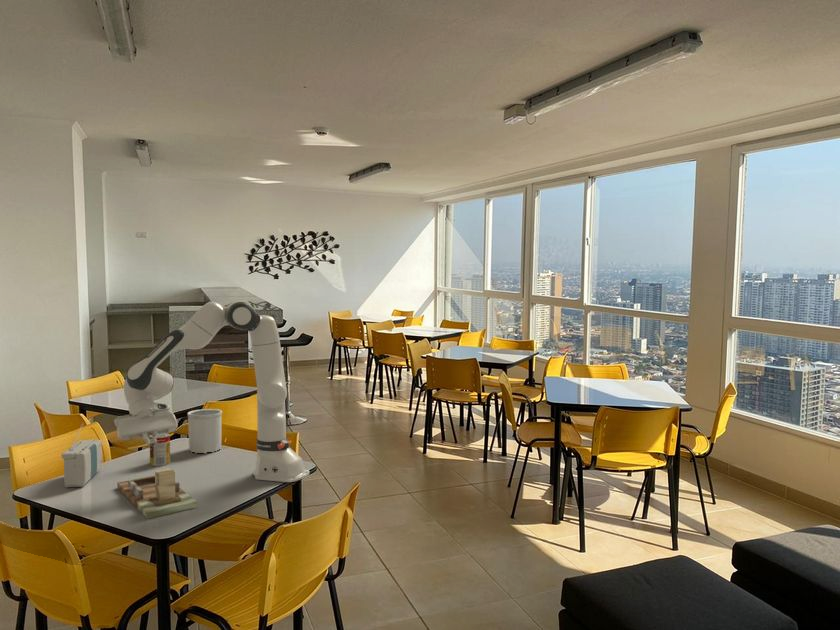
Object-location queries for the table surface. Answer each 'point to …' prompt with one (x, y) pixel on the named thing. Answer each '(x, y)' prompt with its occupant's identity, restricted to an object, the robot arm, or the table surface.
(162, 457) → the canned food
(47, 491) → the table surface
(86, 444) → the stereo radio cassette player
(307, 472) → the robot arm
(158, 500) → the wood block
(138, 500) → the track
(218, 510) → the table surface
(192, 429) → the utensil holder
